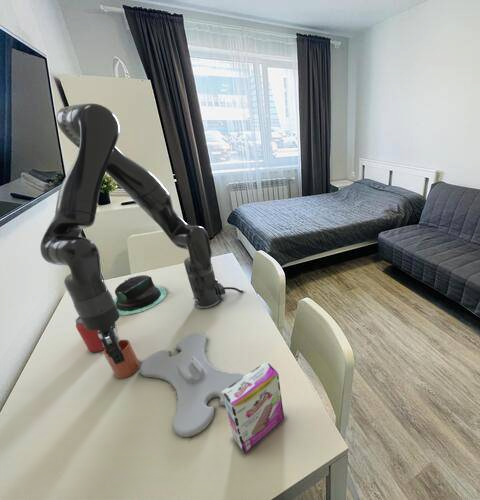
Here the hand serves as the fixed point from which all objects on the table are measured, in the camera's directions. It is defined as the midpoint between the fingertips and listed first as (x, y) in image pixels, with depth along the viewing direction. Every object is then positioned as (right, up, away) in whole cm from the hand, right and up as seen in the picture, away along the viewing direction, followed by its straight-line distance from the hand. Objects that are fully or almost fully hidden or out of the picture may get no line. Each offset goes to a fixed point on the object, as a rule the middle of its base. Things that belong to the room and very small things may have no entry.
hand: (118, 353), depth 78 cm
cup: (0, -6, +3) cm, 7 cm away
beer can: (-15, -2, +12) cm, 20 cm away
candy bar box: (+45, -13, -13) cm, 48 cm away
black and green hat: (-20, +9, +36) cm, 42 cm away
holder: (+22, -7, 0) cm, 23 cm away
